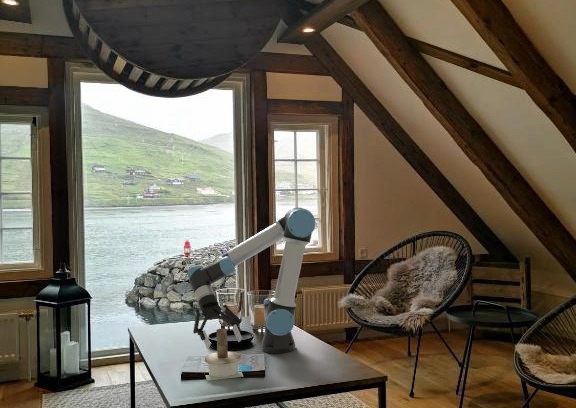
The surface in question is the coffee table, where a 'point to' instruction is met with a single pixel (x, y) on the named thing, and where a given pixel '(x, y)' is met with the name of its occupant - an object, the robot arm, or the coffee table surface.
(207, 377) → the mat
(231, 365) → the bowl
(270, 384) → the coffee table surface
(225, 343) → the lid
